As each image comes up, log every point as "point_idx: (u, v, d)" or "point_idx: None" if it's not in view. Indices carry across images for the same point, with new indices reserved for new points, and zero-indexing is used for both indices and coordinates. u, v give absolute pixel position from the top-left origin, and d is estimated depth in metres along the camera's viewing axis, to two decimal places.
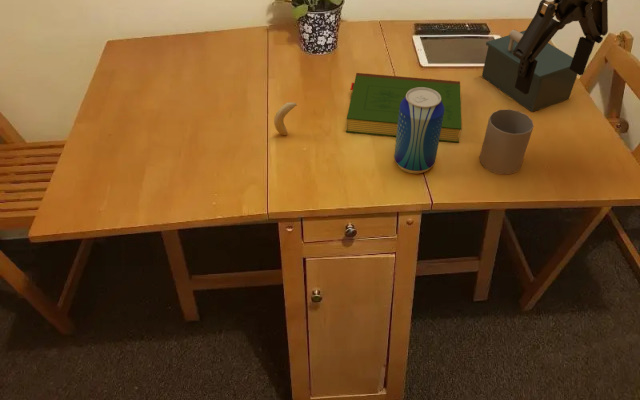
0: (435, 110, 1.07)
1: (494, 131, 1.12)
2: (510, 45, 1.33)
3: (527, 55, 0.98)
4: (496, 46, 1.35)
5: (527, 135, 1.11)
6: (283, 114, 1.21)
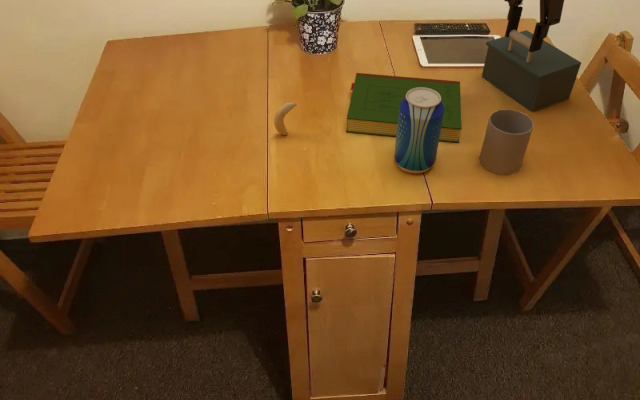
0: (435, 110, 1.07)
1: (494, 131, 1.12)
2: (510, 45, 1.33)
3: None
4: (496, 46, 1.35)
5: (527, 135, 1.11)
6: (283, 114, 1.21)
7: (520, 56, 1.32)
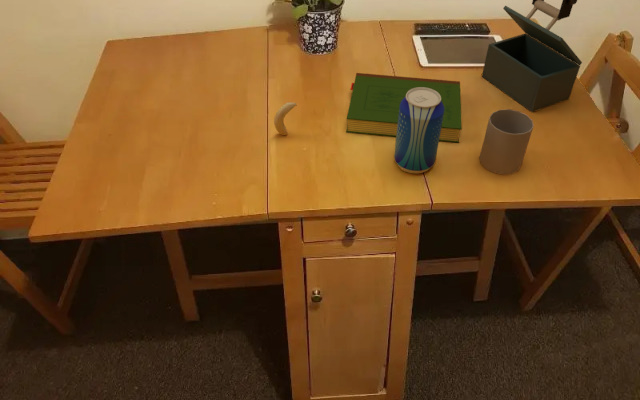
0: (435, 110, 1.07)
1: (494, 131, 1.12)
2: (530, 14, 1.30)
3: None
4: (515, 11, 1.31)
5: (527, 135, 1.11)
6: (283, 114, 1.21)
7: None
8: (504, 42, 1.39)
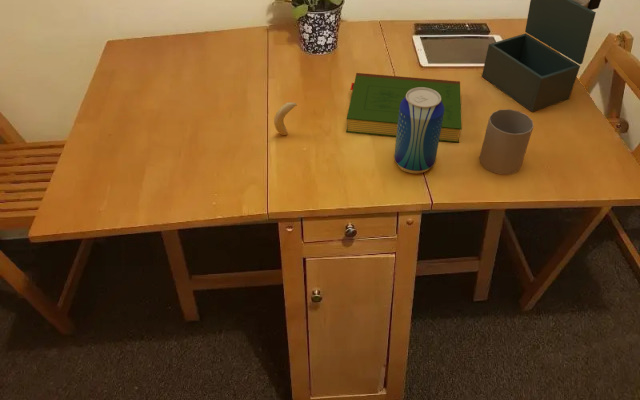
0: (435, 110, 1.07)
1: (494, 131, 1.12)
2: None
3: None
4: None
5: (527, 135, 1.11)
6: (283, 114, 1.21)
7: None
8: (504, 42, 1.39)
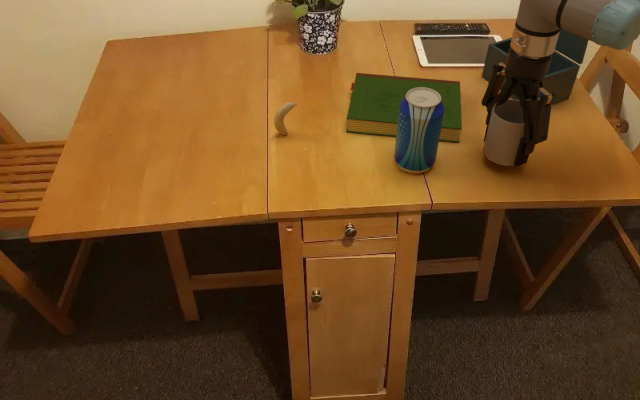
0: (435, 110, 1.07)
1: (498, 121, 1.10)
2: None
3: None
4: None
5: None
6: (283, 114, 1.21)
7: None
8: (504, 42, 1.39)
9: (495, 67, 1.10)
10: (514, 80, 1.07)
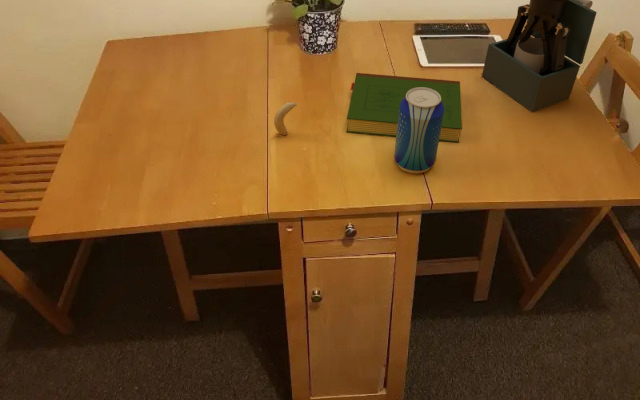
0: (435, 110, 1.07)
1: (522, 54, 1.32)
2: None
3: None
4: None
5: None
6: (283, 114, 1.21)
7: None
8: (504, 42, 1.39)
9: (520, 8, 1.32)
10: (536, 18, 1.28)
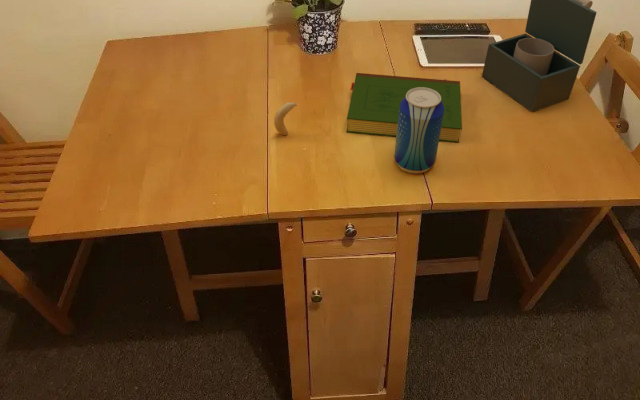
0: (435, 110, 1.07)
1: (521, 54, 1.32)
2: None
3: None
4: None
5: (549, 57, 1.31)
6: (283, 114, 1.21)
7: None
8: (504, 42, 1.39)
9: None
10: None
